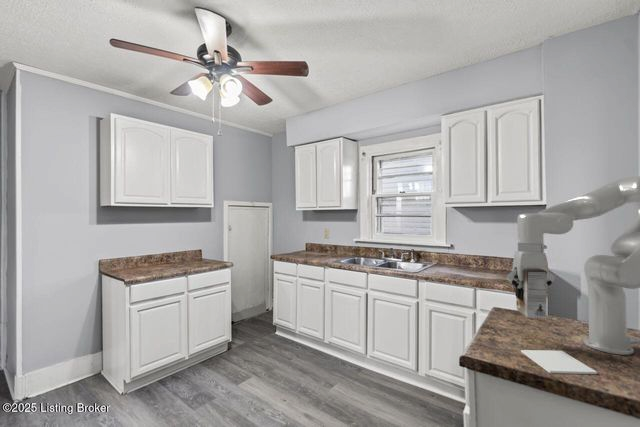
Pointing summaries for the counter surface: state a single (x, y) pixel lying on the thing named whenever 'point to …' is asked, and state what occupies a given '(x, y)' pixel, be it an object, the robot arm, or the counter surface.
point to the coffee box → (534, 294)
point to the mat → (558, 362)
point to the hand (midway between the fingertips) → (530, 298)
